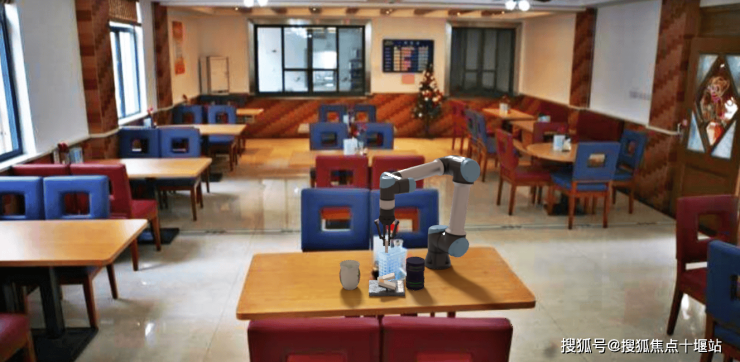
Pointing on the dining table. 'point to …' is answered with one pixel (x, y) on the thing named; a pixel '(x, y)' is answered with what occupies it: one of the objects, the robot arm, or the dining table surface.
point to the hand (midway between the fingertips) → (386, 251)
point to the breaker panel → (386, 289)
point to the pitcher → (349, 274)
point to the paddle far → (388, 276)
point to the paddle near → (386, 283)
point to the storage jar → (415, 273)
